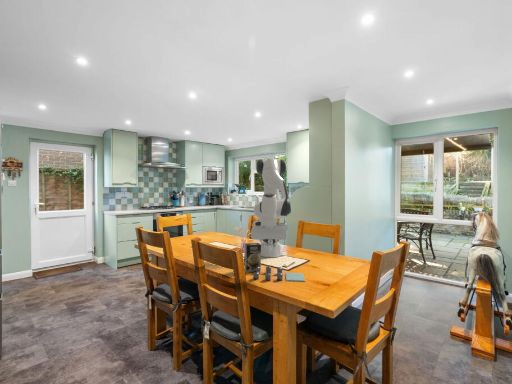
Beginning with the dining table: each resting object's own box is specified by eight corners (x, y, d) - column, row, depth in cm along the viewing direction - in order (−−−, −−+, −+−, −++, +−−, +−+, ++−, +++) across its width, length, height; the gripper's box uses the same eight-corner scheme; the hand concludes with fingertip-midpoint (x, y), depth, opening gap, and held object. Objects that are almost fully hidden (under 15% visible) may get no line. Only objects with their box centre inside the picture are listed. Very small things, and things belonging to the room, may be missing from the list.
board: (285, 273, 154) (285, 272, 154) (302, 274, 153) (302, 273, 153) (286, 280, 142) (286, 279, 142) (305, 281, 141) (305, 280, 141)
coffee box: (246, 272, 155) (246, 245, 155) (243, 269, 161) (244, 243, 161) (261, 271, 157) (261, 244, 157) (258, 268, 164) (258, 242, 163)
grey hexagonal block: (264, 248, 151) (264, 243, 151) (273, 248, 151) (273, 243, 151) (263, 250, 146) (263, 245, 146) (272, 251, 145) (272, 245, 145)
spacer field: (255, 271, 157) (255, 265, 157) (282, 272, 155) (282, 266, 155) (252, 280, 142) (252, 274, 142) (282, 281, 140) (282, 275, 140)
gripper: (287, 222, 150) (286, 246, 151) (251, 221, 152) (251, 245, 152) (287, 223, 144) (287, 248, 144) (250, 222, 146) (250, 247, 146)
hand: (268, 246), depth 148 cm, fingers closed on grey hexagonal block, 5 cm apart
